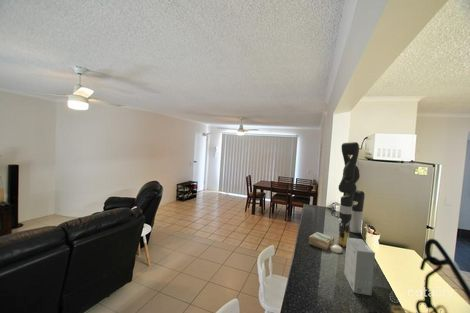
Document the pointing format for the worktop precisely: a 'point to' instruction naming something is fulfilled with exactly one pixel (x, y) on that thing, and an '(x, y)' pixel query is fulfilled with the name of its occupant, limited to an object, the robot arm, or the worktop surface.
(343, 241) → the sauce bottle
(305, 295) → the worktop surface
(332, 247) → the white round dome
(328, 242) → the plinth
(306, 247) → the worktop surface
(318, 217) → the worktop surface
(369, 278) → the hard drive box
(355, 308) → the worktop surface
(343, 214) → the robot arm
